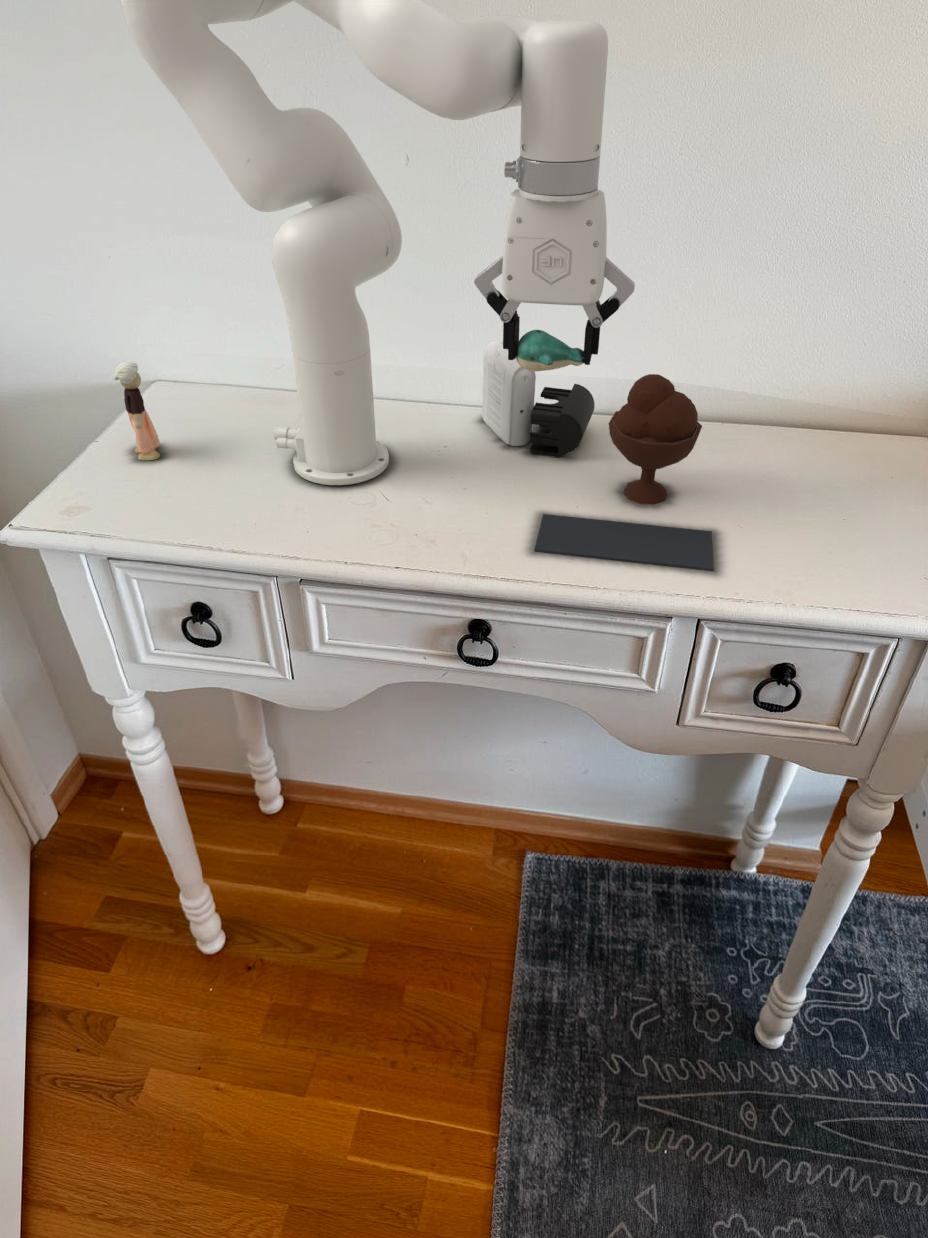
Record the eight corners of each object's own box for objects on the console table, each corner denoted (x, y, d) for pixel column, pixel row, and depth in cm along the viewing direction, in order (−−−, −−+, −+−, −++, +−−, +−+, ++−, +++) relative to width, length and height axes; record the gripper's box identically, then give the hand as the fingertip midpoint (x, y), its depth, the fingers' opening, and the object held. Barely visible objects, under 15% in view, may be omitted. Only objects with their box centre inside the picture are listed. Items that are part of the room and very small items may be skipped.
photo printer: (536, 443, 123) (541, 357, 115) (508, 449, 122) (511, 361, 114) (505, 414, 130) (507, 331, 123) (478, 419, 129) (479, 335, 122)
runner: (534, 551, 101) (534, 549, 101) (543, 515, 108) (543, 513, 108) (713, 571, 98) (713, 568, 98) (711, 533, 105) (711, 531, 104)
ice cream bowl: (592, 506, 110) (604, 391, 100) (615, 466, 118) (628, 356, 109) (678, 523, 106) (698, 406, 97) (695, 481, 115) (715, 369, 105)
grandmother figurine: (170, 459, 119) (150, 368, 111) (142, 466, 117) (120, 374, 110) (151, 437, 124) (130, 349, 116) (124, 445, 122) (101, 355, 115)
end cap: (579, 462, 119) (583, 415, 114) (528, 455, 120) (530, 408, 116) (592, 430, 126) (596, 385, 122) (543, 424, 128) (546, 379, 124)
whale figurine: (519, 354, 98) (520, 320, 96) (586, 358, 97) (588, 324, 95) (512, 374, 94) (512, 339, 92) (581, 379, 93) (584, 343, 90)
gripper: (461, 182, 83) (463, 365, 94) (650, 188, 80) (630, 376, 91) (476, 166, 89) (476, 340, 99) (652, 171, 86) (633, 350, 97)
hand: (550, 356), depth 95 cm, fingers closed on whale figurine, 7 cm apart
